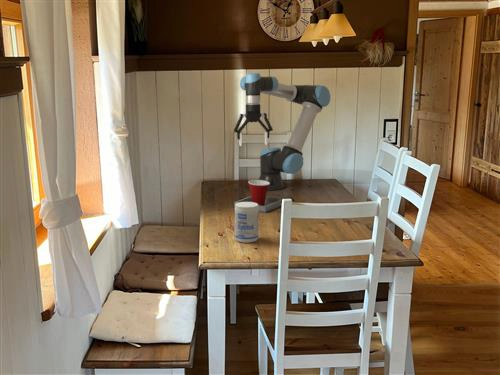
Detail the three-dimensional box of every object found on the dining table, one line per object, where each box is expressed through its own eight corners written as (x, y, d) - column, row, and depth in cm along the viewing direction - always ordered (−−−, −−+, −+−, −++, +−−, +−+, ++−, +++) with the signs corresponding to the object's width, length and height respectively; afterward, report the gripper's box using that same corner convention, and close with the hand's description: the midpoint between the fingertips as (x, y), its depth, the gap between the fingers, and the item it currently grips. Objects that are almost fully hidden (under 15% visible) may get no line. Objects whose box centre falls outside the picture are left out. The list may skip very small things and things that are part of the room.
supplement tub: (236, 244, 212) (236, 207, 208) (232, 236, 221) (232, 202, 218) (260, 242, 213) (260, 206, 210) (256, 235, 223) (255, 200, 219)
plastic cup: (267, 208, 263) (267, 184, 260) (246, 207, 265) (246, 183, 262) (271, 202, 273) (271, 179, 271) (250, 202, 275) (250, 178, 273)
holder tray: (253, 200, 281) (253, 195, 281) (283, 205, 272) (283, 199, 271) (234, 208, 267) (234, 202, 266) (265, 213, 257) (265, 206, 256)
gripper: (274, 102, 281) (274, 143, 286) (227, 104, 276) (228, 145, 281) (278, 103, 274) (278, 145, 279) (230, 104, 269) (231, 147, 274)
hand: (253, 145), depth 280 cm, fingers open, 13 cm apart
